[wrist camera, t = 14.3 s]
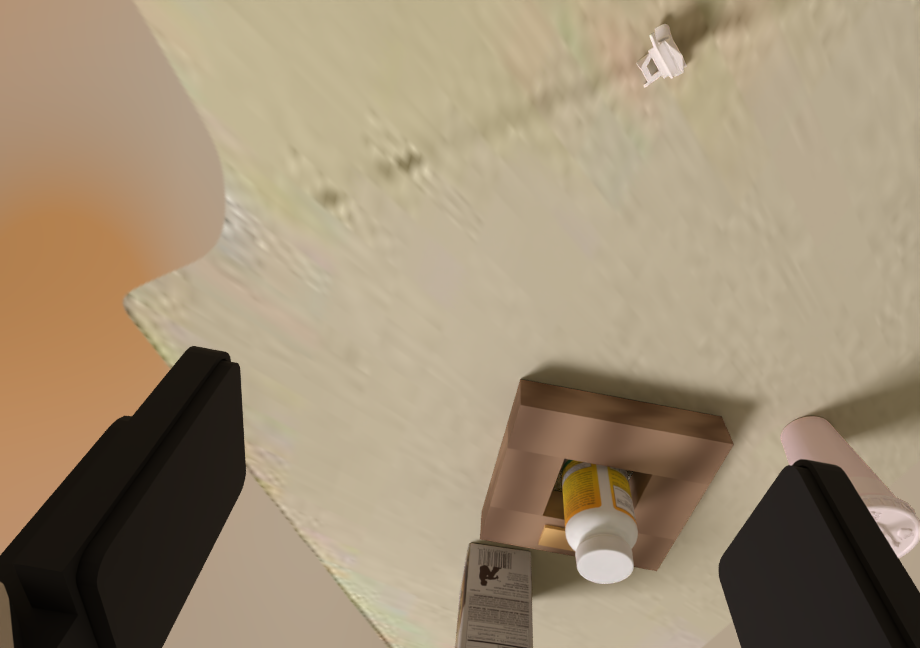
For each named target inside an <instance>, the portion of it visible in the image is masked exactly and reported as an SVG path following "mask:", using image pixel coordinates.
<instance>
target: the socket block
mask: <svg viewBox="0 0 920 648" xmlns="http://www.w3.org/2000/svg"><path fill="white" fill-rule="evenodd" d="M733 445H734V444H733V442H732V439H731V437H730V435H729V432H728V430H727V428H726V426H725V423H724V421H723V419H722V417H720V416H715V415H710V414H704V413H699V412H694V411H688V410H683V409H677V408H672V407H667V406H661V405H656V404H651V403H645V402H640V401H634V400H629V399H624V398H618V397H613V396H608V395H602V394H597V393H592V392H586V391H581V390H575V389H570V388H565V387H559V386H554V385H549V384H543V383H538V382H533V381H527V380H522V379H520V382H519V386H518V389H517V393H516V396H515V399H514V403H513V406H512V410H511V413H510V417H509V420H508V423H507V427H506V430H505V434H504V437H503V441H502V444H501V447H500V451H499V454H498V458H497V461H496V465H495V468H494V471H493V475H492V478H491V482H490V485H489V489H488V492H487V495H486V499H485V502H484V506H483V509H482V516H481V532H480V539H482V540H487V541H493V542H499V543H504V544H510V545H515V546H521V547H526V548H532V549H537V550H543V551H549V552H554V553H560V554H565V555H571V556H575V553H576V551H574V550H573V549H572V547H571V546H570V545H569V543H568V541H567V538H566V533H565V519H564V504H563V492H561V491H555V490H553V487H554V484H555V482H556V479H557V477H558V474H559V471H560V469H561V466H562V464H563V461H564V459H570V460H575V461H581V462H586V463H592V464H597V465H603V466H608V467H613V468H619V469H624V470H630V471H634V472H633V474H632V476H631V478H630V480H629V486H630V491H631V497H632V502H633V507H634V513H635V518H636V523H637V530H638V537H637V541H636V543H635V545H634V546H633V548H632V549H631V550H632V556H633V563H634V567H637V568H643V569H649V570H654V571H657V570H658V568H659V567H660V565H661V563H662V562H663V560H664V558H665V557H666V555H667V553H668V552H669V550H670V548H671V547H672V545H673V544H674V542H675V540H676V539H677V537H678V535H679V534H680V532H681V530H682V529H683V527H684V525H685V524H686V522H687V520H688V519H689V517H690V516H691V514H692V512H693V511H694V509H695V507H696V506H697V504H698V502H699V501H700V499H701V497H702V496H703V494H704V492H705V491H706V489H707V488H708V486H709V484H710V483H711V481H712V479H713V478H714V476H715V474H716V473H717V471H718V469H719V468H720V466H721V464H722V463H723V461H724V460H725V458H726V456H727V455H728V453H729V451H730V450H731V448H732V446H733Z"/></svg>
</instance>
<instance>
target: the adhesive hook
mask: <svg viewBox="0 0 920 648" xmlns="http://www.w3.org/2000/svg"><path fill="white" fill-rule="evenodd" d="M655 35H656V37H655ZM649 36H650V39H651V41H652V44H653V47H652V48H650V49H649V50H648V52H649V53H648V54H647V55H646V56H644V57H643V58H641V59H640V60H639V61H637V62H636V64H637V66H638V67H639V68H640V69H641V71H642V73H643V75H644V76H645V78H646V80H647V83H646V84H644V85H643V86H644V88H645V87H647V86H648V85H650V84H651V83H652V82H654V81H655V80H657V79H658V78H659V77H661V76H662V77H663V79H664V78H666V77H667V76H669V77H670V78H673V77H674V76H678V75H680V74H681V73H683V72H684V69H683V68H684V67H686V63H685V61H684V58H683V56H682V54H681V52H680V51H679V49H678V47H677V46H676V44H675V42H674V41H673V38H672V35H671V32H670V28H669V26H668V25H667V24H662V25H660V26H658V27H656V28H655V34H654V32H653V33H651V34H650V35H649ZM651 58H652V59H653V61H654V63H655V64H656V66H657V68H658V70H659V71H657V72H656V73H654V74H653V75H651V74H650V72H649V70H648V68H647V65H648V63H649V61H650V60H651Z"/></svg>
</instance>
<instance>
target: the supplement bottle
mask: <svg viewBox="0 0 920 648" xmlns="http://www.w3.org/2000/svg"><path fill="white" fill-rule="evenodd" d="M562 489H563V504H564V519H565V533H566V538H567V541H568V543H569V545H570V546H571V547H572V549H573V550H574V551H576V553H575V556H576V563H577V569H578V571H579V573H580V574H581V576H583V577H584V578H585V579H587V580H589V581H592V582H595V583H601V584H610V583H616V582H619V581H622V580H624V579H626V578H627V577H628V576H629V575H630V574H631V573H632V571H633V569H634V563H633V556H632V550H631V549H632V548H633V546H634V545H635V543H636V541H637V537H638V530H637V523H636V518H635V513H634V507H633V502H632V497H631V491H630V486H629V480H628V475H627V470H624V469H619V468H613V467H608V466H603V465H597V464H592V463H586V462H581V461H575V460H570V459H565V461H564V462H563V465H562Z"/></svg>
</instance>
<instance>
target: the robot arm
mask: <svg viewBox="0 0 920 648" xmlns="http://www.w3.org/2000/svg"><path fill="white" fill-rule="evenodd" d="M245 476H246V464H245V446H244V428H243V411H242V393H241V375H240V366H239V364H238V363H235V362H231V359H230V356H229V354H228V353H227V352H223V351H218V350H212V349H207V348H202V347H196V346H192V347H189V348H188V349H187V350H186V351H185V352H184V354H183V355H182V356H181V357H180V359H179V360H178V361H177V362H176V363H175V365H174V366H173V367H172V368H171V370H170V371H169V372H168V373H167V374H166V376H165V377H164V378H163V379H162V381H161V382H160V383H159V384H158V385H157V387H156V388H155V389H154V390H153V392H152V393H151V394H150V395H149V396H148V398H147V399H146V400H145V401H144V403H143V404H142V405H141V406H140V407H139V409H138V410H137V411H136V412H135V414H134V415H133V416H123V417H121V418H119V419H117V420H116V421H115V422H114V423H113V424H112V425H111V426H110V427H109V428H108V429H107V430H106V431H105V433H104V434H103V435H102V436H101V437H100V438H99V440H98V441H97V442H96V443H95V444H94V446H93V447H92V448H91V449H90V450H89V451H88V453H87V454H86V455H85V456H84V457H83V458H82V460H81V461H80V462H79V463H78V465H77V466H76V467H75V468H74V469H73V470H72V472H71V473H70V474H69V475H68V476H67V477H66V479H65V480H64V481H63V482H62V483H61V485H60V486H59V487H58V488H57V489H56V490H55V492H54V493H53V494H52V495H51V496H50V497H49V499H48V500H47V501H46V502H45V503H44V504H43V506H42V507H41V508H40V509H39V510H38V512H37V513H36V514H35V515H34V516H33V518H32V519H31V520H30V521H29V522H28V523H27V525H26V526H25V527H24V528H23V529H22V530H21V532H20V533H19V534H18V535H17V536H16V537H15V539H14V540H13V541H12V542H11V543H10V545H9V546H8V547H7V548H6V549H5V551H4V552H3V553H2V554H1V555H0V648H162V647H163V645H164V643H165V641H166V639H167V637H168V635H169V633H170V631H171V629H172V627H173V625H174V623H175V621H176V619H177V617H178V615H179V613H180V611H181V609H182V607H183V605H184V603H185V601H186V599H187V597H188V595H189V593H190V591H191V589H192V588H193V585H194V583H195V581H196V579H197V578H198V576H199V574H200V572H201V570H202V568H203V566H204V564H205V562H206V560H207V558H208V556H209V554H210V552H211V550H212V548H213V546H214V544H215V542H216V540H217V538H218V536H219V534H220V532H221V530H222V528H223V526H224V524H225V522H226V520H227V519H228V517H229V514H230V512H231V511H232V508H233V506H234V505H235V503H236V501H237V499H238V496H239V495H240V493H241V490H242V488H243V485H244V481H245ZM719 578H720V582H721V585H722V588H723V591H724V594H725V598H726V601H727V604H728V607H729V610H730V613H731V617H732V620H733V623H734V626H735V629H736V632H737V635H738V639H739V642H740V645H741V648H920V593H919V591H918V589H917V588H916V586H915V584H914V583H913V581H912V579H911V578H910V576H909V575H908V573H907V572H906V570H905V568H904V567H903V565H902V563H901V562H900V560H899V558H898V557H897V555H896V554H895V552H894V550H893V549H892V547H891V546H890V544H889V542H888V541H887V539H886V537H885V536H884V534H883V533H882V531H881V529H880V528H879V526H878V525H877V523H876V521H875V520H874V518H873V516H872V515H871V513H870V512H869V510H868V508H867V507H866V505H865V504H864V502H863V500H862V499H861V497H860V495H859V494H858V492H857V491H856V489H855V487H854V486H853V484H852V482H851V481H850V479H849V478H848V476H847V474H846V473H845V472H844V471H843V469H842V468H841V467H839V466H837V465H833V464H828V463H822V462H817V461H812V460H806V459H800V460H797V461H796V462H795V463H794V464H793V465H792V466H791V465H788V466H786V467H785V468H784V469H783V470H782V471H781V472H780V474H779V475H778V477H777V478H776V480H775V481H774V482H773V484H772V485H771V487H770V488H769V490H768V491H767V492H766V494H765V495H764V497H763V498H762V500H761V501H760V503H759V504H758V505H757V507H756V508H755V510H754V511H753V513H752V514H751V515H750V517H749V518H748V520H747V521H746V523H745V524H744V525H743V527H742V528H741V530H740V531H739V533H738V534H737V536H736V537H735V538H734V540H733V541H732V543H731V544H730V546H729V547H728V548H727V550H726V551H725V553H724V554H723V556H722V557H721V559H720V563H719Z"/></svg>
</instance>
